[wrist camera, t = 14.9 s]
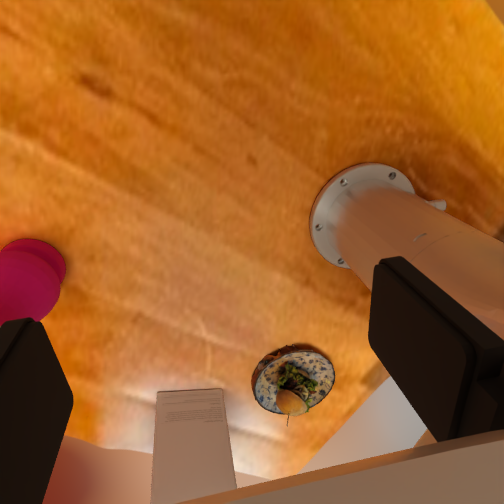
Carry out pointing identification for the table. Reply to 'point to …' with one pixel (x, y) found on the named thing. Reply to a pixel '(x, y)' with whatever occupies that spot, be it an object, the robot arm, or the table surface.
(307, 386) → the burger
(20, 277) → the pepper mill
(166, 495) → the supplement box
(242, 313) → the table surface
